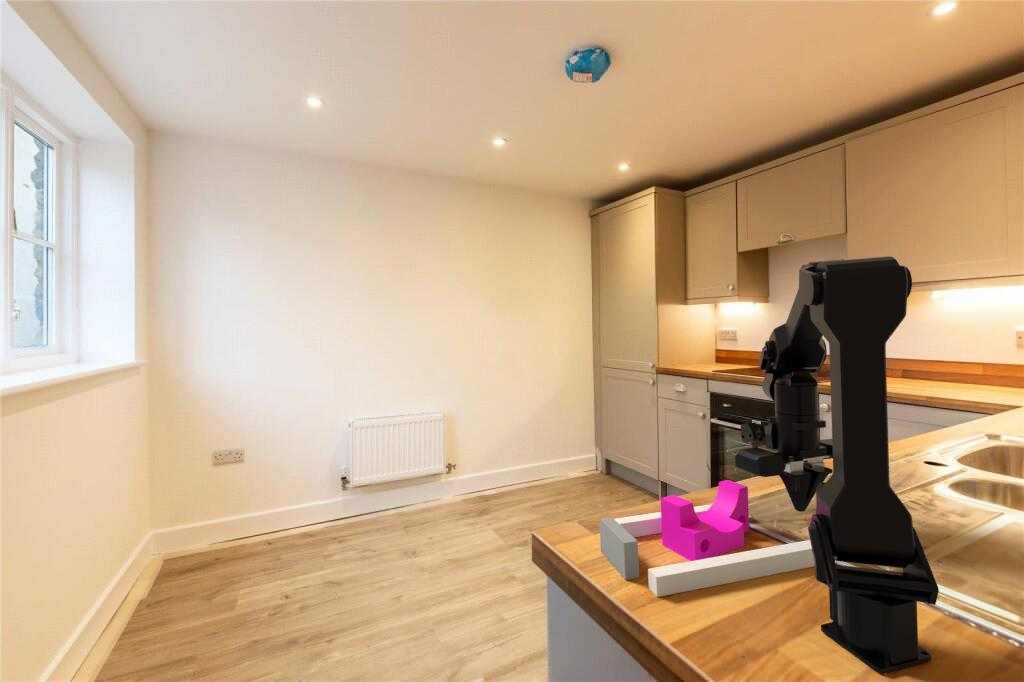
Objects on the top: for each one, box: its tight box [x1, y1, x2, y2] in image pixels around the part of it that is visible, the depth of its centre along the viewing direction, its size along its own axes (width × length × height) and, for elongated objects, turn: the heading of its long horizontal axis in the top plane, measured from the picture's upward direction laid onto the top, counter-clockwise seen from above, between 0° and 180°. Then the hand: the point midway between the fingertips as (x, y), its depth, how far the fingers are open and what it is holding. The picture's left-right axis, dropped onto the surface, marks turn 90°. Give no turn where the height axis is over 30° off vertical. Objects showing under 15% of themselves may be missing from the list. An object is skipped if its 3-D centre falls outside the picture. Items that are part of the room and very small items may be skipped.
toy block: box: [660, 479, 750, 562], centre depth 68 cm, size 15×6×8 cm, turn 116°
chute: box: [598, 503, 815, 598], centre depth 65 cm, size 17×28×5 cm, turn 102°
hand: (799, 510), depth 69 cm, fingers closed
